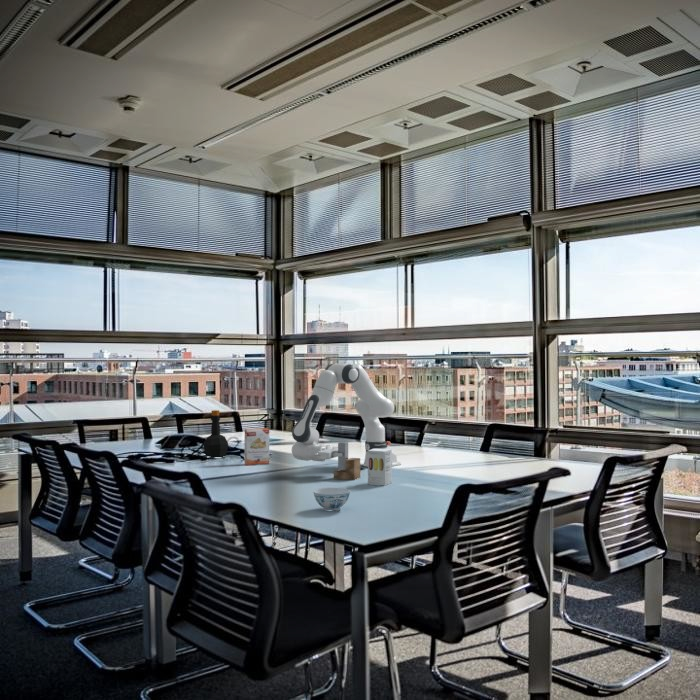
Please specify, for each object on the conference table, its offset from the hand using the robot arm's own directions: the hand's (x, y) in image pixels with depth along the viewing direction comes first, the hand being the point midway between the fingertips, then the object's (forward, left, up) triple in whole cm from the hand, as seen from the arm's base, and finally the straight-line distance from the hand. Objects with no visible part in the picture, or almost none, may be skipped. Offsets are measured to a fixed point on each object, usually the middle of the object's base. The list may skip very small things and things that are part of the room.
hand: (344, 454), depth 369 cm
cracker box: (+10, -74, -13) cm, 76 cm away
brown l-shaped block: (-1, +1, -12) cm, 12 cm away
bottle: (+16, -117, -13) cm, 119 cm away
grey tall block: (+1, -1, -8) cm, 8 cm away
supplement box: (-3, +25, -13) cm, 28 cm away
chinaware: (+50, +59, -13) cm, 79 cm away
